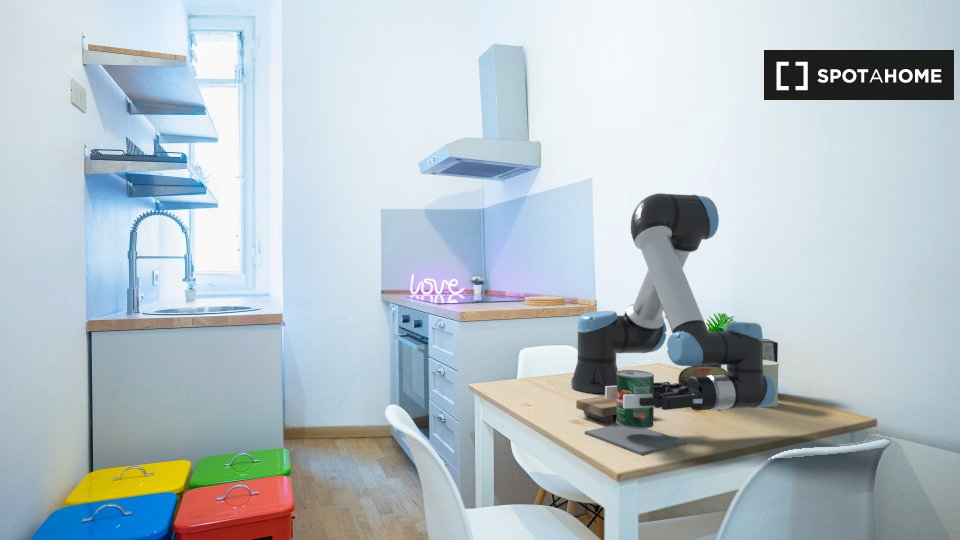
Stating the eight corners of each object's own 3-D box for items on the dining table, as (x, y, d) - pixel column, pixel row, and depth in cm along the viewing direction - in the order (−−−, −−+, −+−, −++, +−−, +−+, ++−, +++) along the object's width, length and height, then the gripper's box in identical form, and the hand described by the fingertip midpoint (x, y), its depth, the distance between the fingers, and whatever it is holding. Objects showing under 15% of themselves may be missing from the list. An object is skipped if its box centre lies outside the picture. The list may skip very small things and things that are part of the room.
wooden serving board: (576, 416, 138) (576, 400, 138) (621, 407, 146) (621, 392, 146) (602, 425, 130) (602, 408, 130) (648, 416, 139) (648, 400, 139)
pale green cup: (736, 403, 154) (737, 359, 153) (747, 397, 160) (748, 356, 160) (772, 409, 147) (773, 364, 147) (782, 403, 154) (783, 360, 154)
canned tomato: (661, 425, 120) (661, 374, 120) (637, 431, 115) (638, 378, 115) (631, 416, 126) (632, 368, 126) (608, 422, 122) (608, 372, 121)
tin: (680, 396, 161) (681, 367, 161) (676, 393, 164) (677, 365, 164) (731, 396, 161) (732, 367, 161) (726, 393, 165) (727, 365, 164)
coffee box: (777, 398, 160) (778, 342, 159) (753, 396, 161) (754, 341, 161) (767, 391, 169) (769, 338, 168) (745, 390, 170) (746, 337, 170)
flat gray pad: (584, 433, 124) (584, 431, 124) (628, 424, 131) (628, 422, 131) (640, 454, 110) (640, 452, 110) (685, 443, 118) (685, 440, 118)
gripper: (738, 422, 114) (638, 427, 109) (681, 398, 135) (594, 402, 130) (739, 385, 114) (638, 390, 109) (681, 367, 134) (594, 370, 130)
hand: (614, 396), depth 119 cm, fingers closed on canned tomato, 8 cm apart
